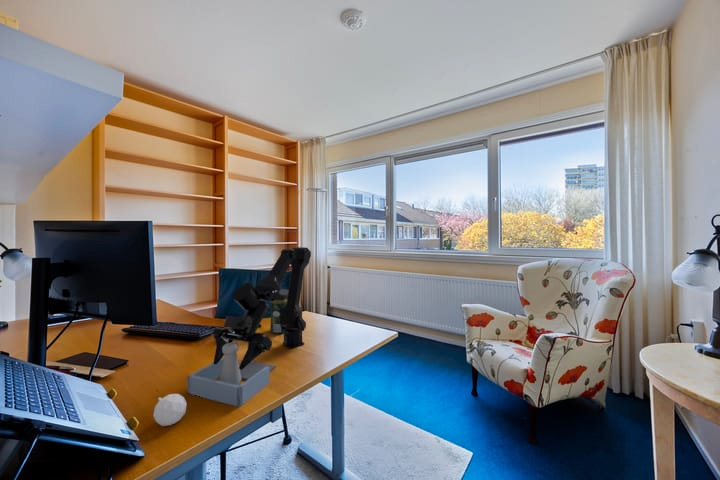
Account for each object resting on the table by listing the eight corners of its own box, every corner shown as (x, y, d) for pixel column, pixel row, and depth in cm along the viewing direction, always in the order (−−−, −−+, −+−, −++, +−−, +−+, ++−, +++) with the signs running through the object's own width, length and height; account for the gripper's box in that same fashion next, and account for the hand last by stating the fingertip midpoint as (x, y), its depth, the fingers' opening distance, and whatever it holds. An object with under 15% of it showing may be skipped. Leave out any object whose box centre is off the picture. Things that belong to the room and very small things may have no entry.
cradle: (222, 373, 94) (221, 357, 94) (269, 383, 88) (269, 366, 88) (187, 393, 82) (187, 376, 82) (239, 406, 76) (239, 388, 76)
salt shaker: (217, 394, 82) (217, 348, 81) (221, 384, 87) (221, 341, 87) (240, 391, 83) (239, 346, 83) (242, 381, 89) (242, 339, 88)
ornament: (170, 434, 66) (147, 411, 64) (164, 430, 70) (142, 409, 69) (196, 407, 70) (174, 386, 69) (189, 406, 75) (169, 385, 74)
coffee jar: (279, 326, 139) (279, 287, 138) (294, 328, 137) (293, 288, 136) (266, 333, 130) (266, 291, 129) (282, 335, 127) (282, 292, 127)
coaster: (251, 362, 101) (251, 361, 101) (275, 367, 98) (275, 365, 98) (229, 376, 92) (229, 374, 92) (256, 382, 88) (256, 380, 88)
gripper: (215, 301, 91) (184, 350, 81) (266, 307, 85) (239, 360, 75) (234, 319, 99) (208, 365, 89) (281, 325, 93) (259, 376, 83)
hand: (227, 366), depth 84 cm, fingers open, 9 cm apart
